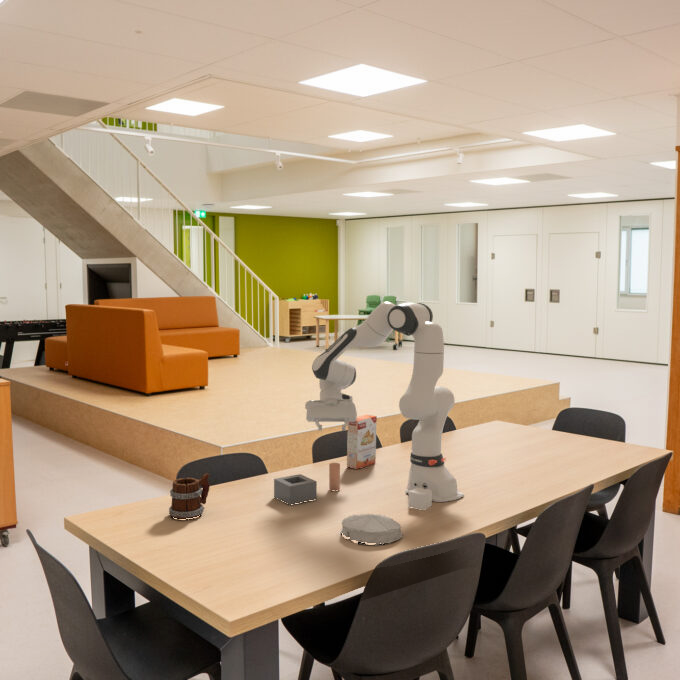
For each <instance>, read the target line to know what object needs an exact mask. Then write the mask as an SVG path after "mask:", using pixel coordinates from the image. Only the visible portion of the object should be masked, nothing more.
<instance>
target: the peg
mask: <svg viewBox="0 0 680 680" xmlns="http://www.w3.org/2000/svg"><path fill="white" fill-rule="evenodd" d="M328 470H329V474H328V476H329V482H328V483H329V487H328V488H329V489H330V490H339V489H340V490H341V464H340V463H339V462H329V468H328ZM330 490H329V491H330Z"/></svg>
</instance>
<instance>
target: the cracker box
mask: <svg viewBox="0 0 680 680" xmlns="http://www.w3.org/2000/svg"><path fill="white" fill-rule="evenodd" d="M377 419H378V418H377V416H376V415H373V414H372V415H371V414H364V415H360V416H357V419H356V421H355V422H348V424H347V438H346V439H347V440H346V441H347V442H346V445H347V446H346V448H347V449H346V450H347V451H346V468H348V467H350V469H353V468H354V470H359V469H358V468H360V469H361V467H363V468H365V467H368V466H371V465H374V464H376V458H377V456H376V455H377V453H376V451H377V424H378V423H377ZM373 463H374V464H373ZM370 464H371V465H370ZM367 465H368V466H367ZM364 466H365V467H364Z"/></svg>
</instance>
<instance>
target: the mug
mask: <svg viewBox="0 0 680 680" xmlns="http://www.w3.org/2000/svg"><path fill="white" fill-rule="evenodd" d="M209 477H210V473H208V472H207V473H205V472H204V474H203V475H202V476H201V477H200V478H199V479H197V478H194V477H186V478H184V477H181V478H177V479H175V480H173V481H172V488H171V489H170V490H169V493H170V497H171V505H170V506H169V507H168V514H169V515H170V517H171V516H172V517H174V518H177V519H186V518H193V517H197V516H199V515H201V514H202V515H203V512H204V511H205V506H204V505H205V504H206V503H207V498H208V494H209V491H210V487H211V485H210V481H209ZM200 486H201V487H200ZM202 515H201V516H202Z"/></svg>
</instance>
